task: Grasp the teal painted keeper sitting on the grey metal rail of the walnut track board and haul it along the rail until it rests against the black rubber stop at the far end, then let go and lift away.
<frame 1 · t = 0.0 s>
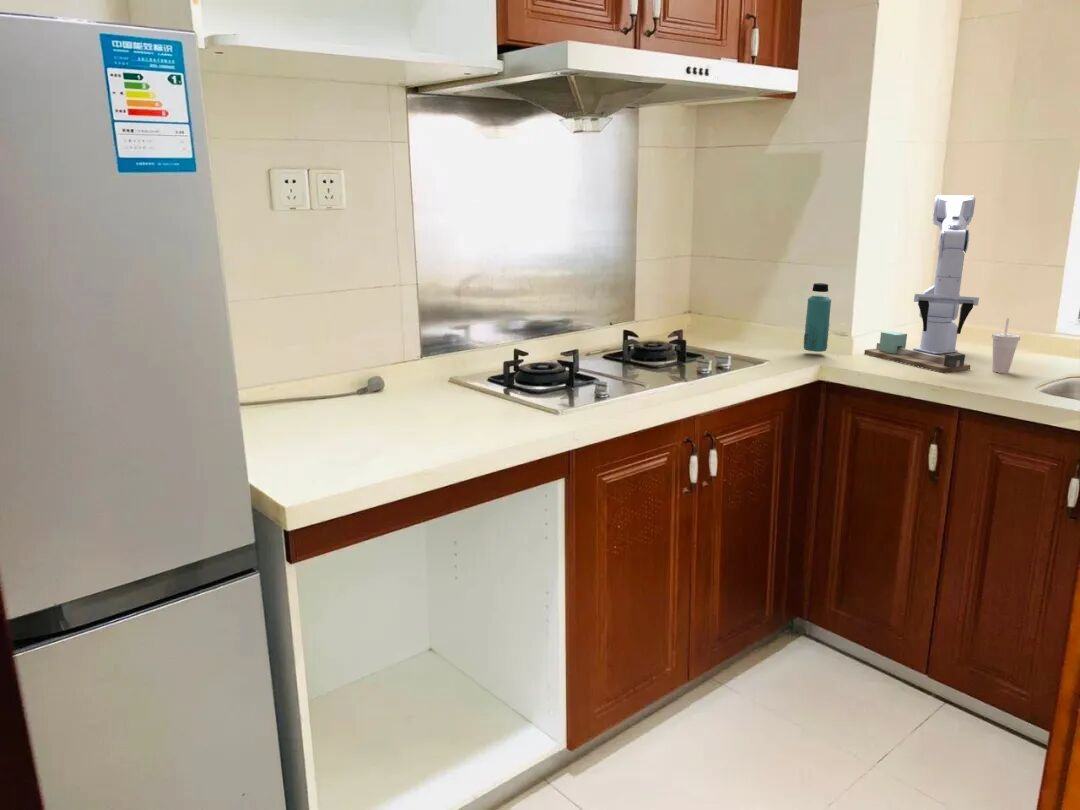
hand: (941, 332, 207), 11 cm above the worktop, tool pointing down, fingers open, 7 cm apart
track: (915, 361, 224), on the worktop
keeper: (892, 342, 230), point 4 cm above the worktop, slide at 0.0 cm
beverage bottle: (814, 355, 231), on the worktop
smoothie: (1000, 372, 213), on the worktop
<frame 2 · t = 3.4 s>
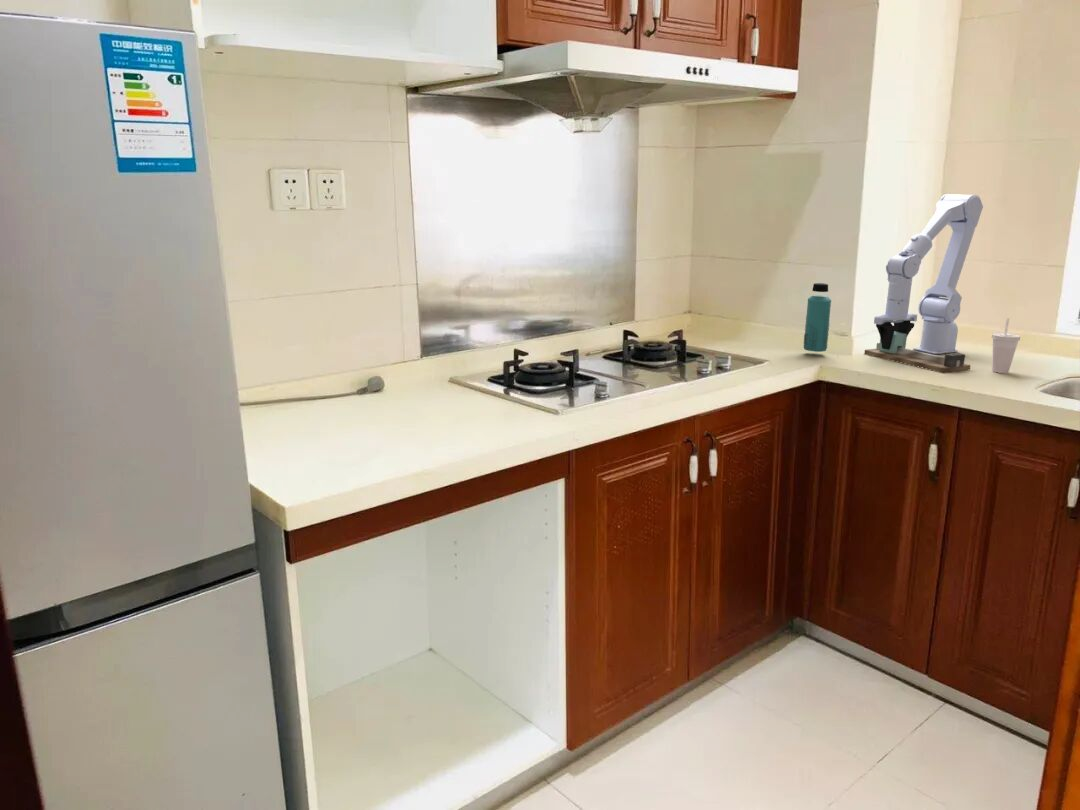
hand: (892, 348, 230), 2 cm above the worktop, tool pointing down, fingers closed on keeper, 4 cm apart
keeper: (892, 342, 230), point 4 cm above the worktop, slide at 0.0 cm, touching gripper
everything else where it was.
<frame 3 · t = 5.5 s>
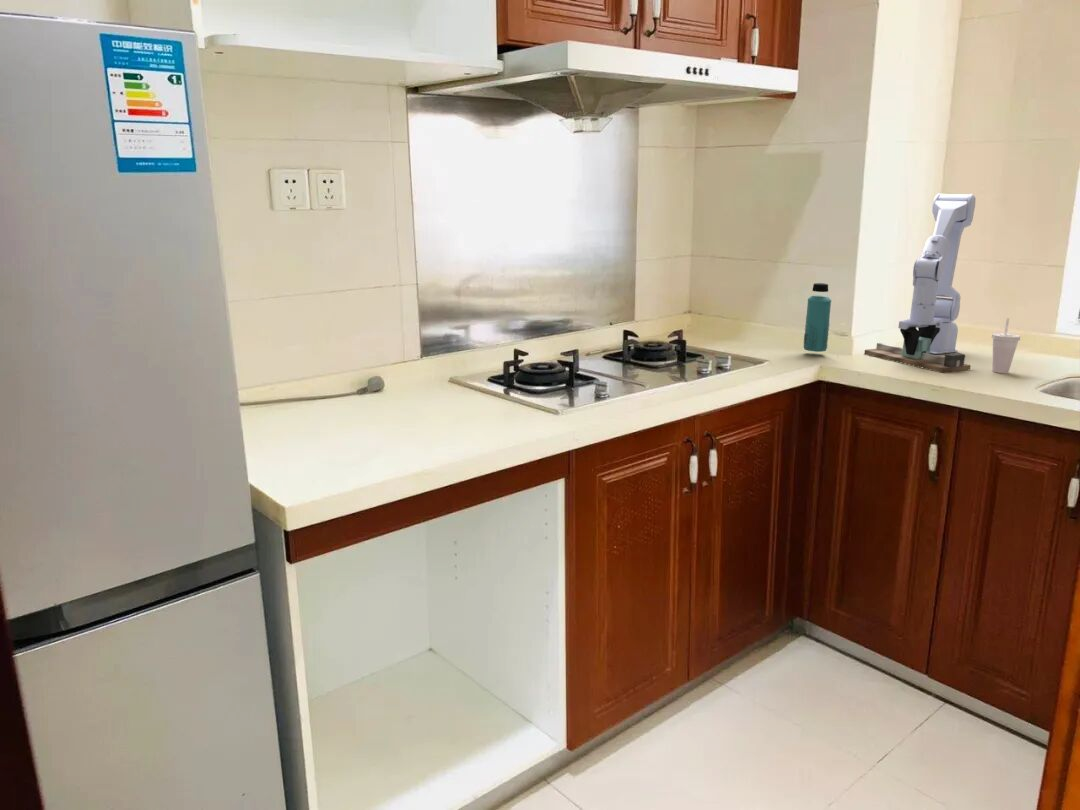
hand: (916, 353, 223), 2 cm above the worktop, tool pointing down, fingers closed on keeper, 4 cm apart
keeper: (916, 347, 223), point 4 cm above the worktop, slide at 7.9 cm, touching gripper
everything else where it was.
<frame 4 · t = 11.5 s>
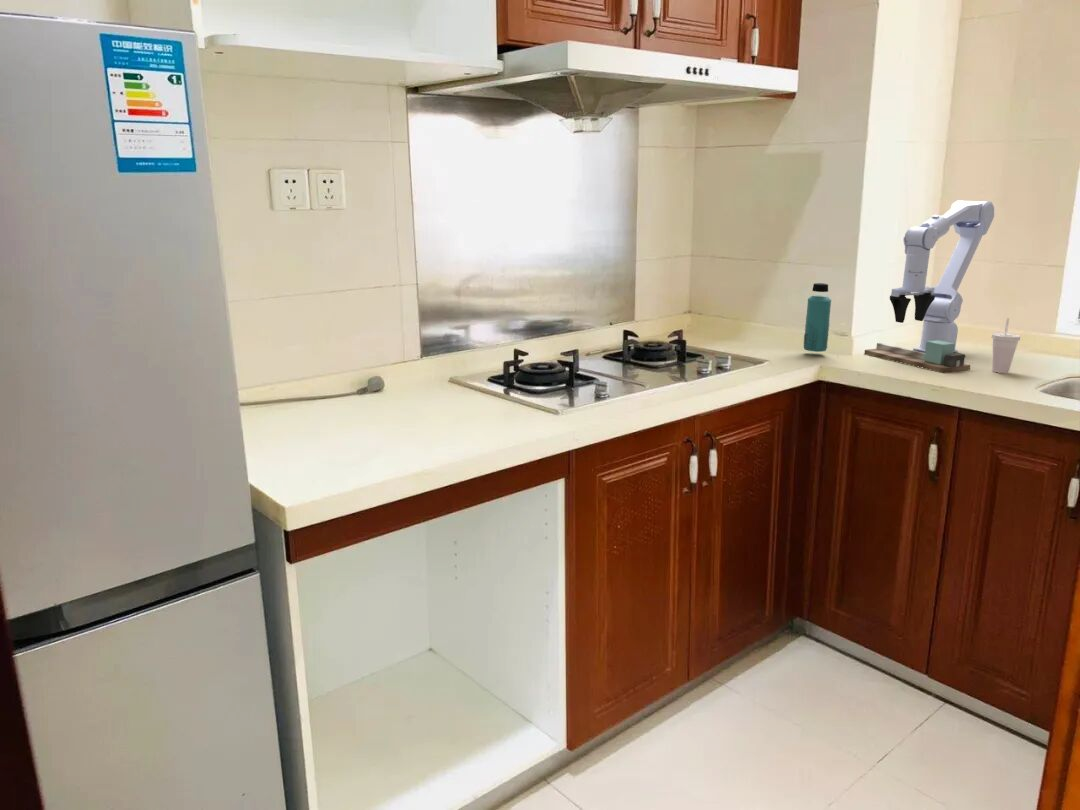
hand: (909, 321, 228), 10 cm above the worktop, tool pointing down, fingers open, 7 cm apart
keeper: (939, 352, 217), point 4 cm above the worktop, slide at 15.0 cm
everything else where it was.
at the end: keeper slide at 15.0 cm; the gripper is holding nothing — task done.
